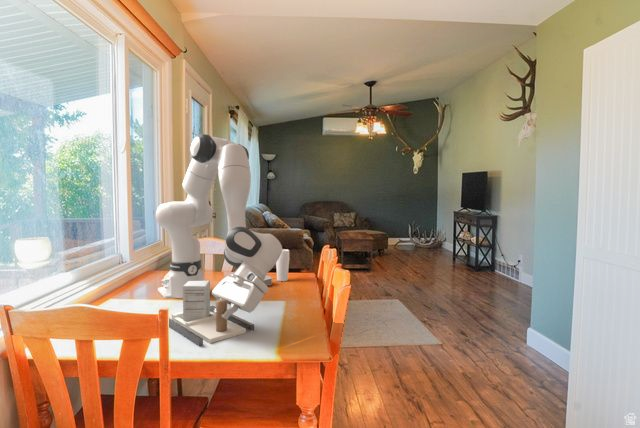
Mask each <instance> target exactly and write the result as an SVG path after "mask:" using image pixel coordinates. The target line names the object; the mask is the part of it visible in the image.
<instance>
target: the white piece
mask: <svg viewBox="0 0 640 428" xmlns="http://www.w3.org/2000/svg"><path fill="white" fill-rule="evenodd" d="M289 264H290V250H289V249H288V248H287V249H285V248H282V253H281V255H280V257H279V259H278V260H277V262H276V263H275V266H276V267H275V268H276V281H277V282H281V281H283V282H287V281H288V280H289V266H290V265H289Z"/></svg>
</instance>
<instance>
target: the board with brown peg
mask: <svg viewBox="0 0 640 428" xmlns="http://www.w3.org/2000/svg"><path fill="white" fill-rule="evenodd" d="M215 307H216V314H214V313H212V312H210V317H206V318H202V319H197V320H193V321H189V322H186V321H183V311H180V312H176V313H171V320H173V321H175V322H176V323H178V324H180V325H181V326H183V327H185V328H186V329H188V330H189V331H191V332H193V333H194V334H196V335H198V336H199V337H201V338H203V341H205V342H206V343H208V344H213V343H215V342H219V341H222V340H226V339H228V338H233V337H236V336H239V335H243V334H247V329H246V328H244V327H241V326H239V325H237V324H235V323H233V322H231V321H229V320H226V319H224V318H223V317H221V314H222V313H223V312H224V311H226V310H228V304H227V300H226V299H219V300H218V299H216V300H215Z"/></svg>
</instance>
